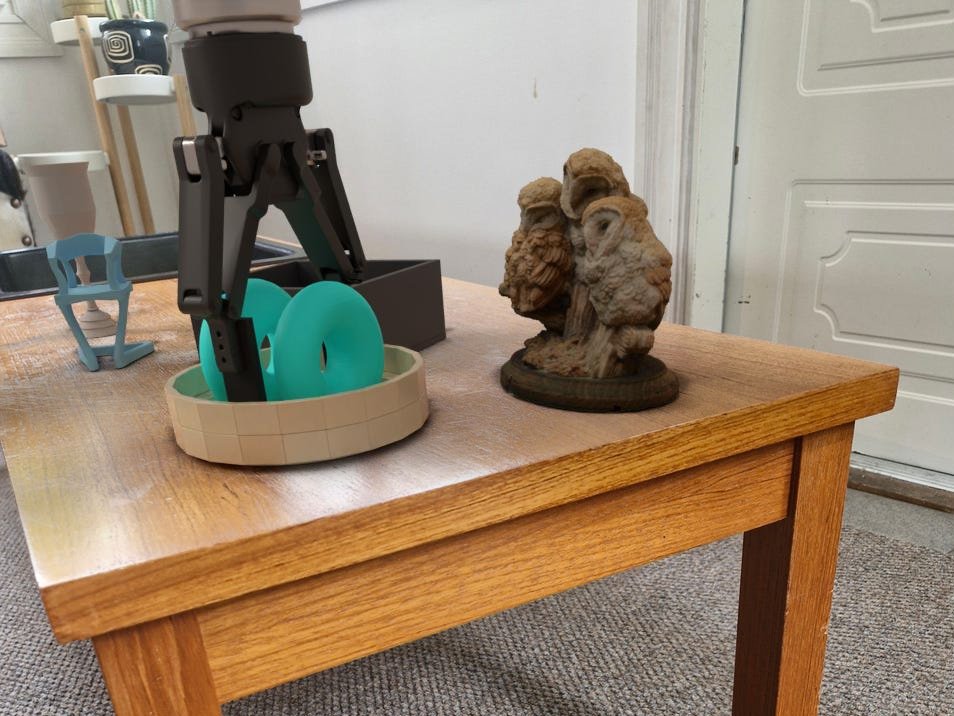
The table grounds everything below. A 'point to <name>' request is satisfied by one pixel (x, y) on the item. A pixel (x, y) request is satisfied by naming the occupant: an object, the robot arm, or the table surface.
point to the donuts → (307, 341)
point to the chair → (95, 295)
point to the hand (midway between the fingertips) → (300, 395)
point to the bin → (377, 297)
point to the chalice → (70, 223)
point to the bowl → (299, 417)
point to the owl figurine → (588, 292)
